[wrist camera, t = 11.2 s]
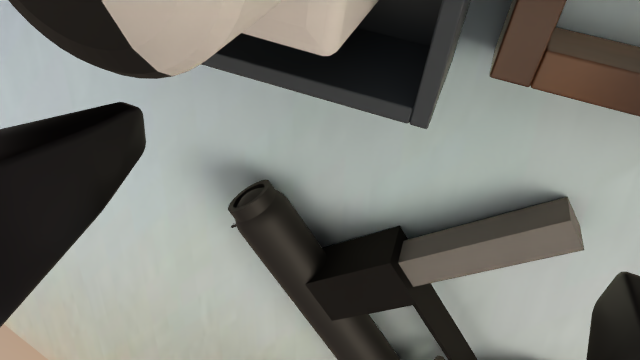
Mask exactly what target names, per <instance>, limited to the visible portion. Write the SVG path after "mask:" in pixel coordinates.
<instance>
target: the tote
mask: <svg viewBox="0 0 640 360" xmlns="http://www.w3.org/2000/svg"><path fill="white" fill-rule="evenodd" d="M470 1H471V0H379V1H378V2H377V3H376V4H375V6H374V7H373V8H372V9H371V11H370V12H369V13H368V14H367V15H366V17H365V18H364V19H363V20H362V22H361V23H360V24H359V25H358V26H357V28H356V29H355V30H354V31H353V32H352V34H351V35H350V36H349V37H348V39H347V40H346V41H345V42H344V43H343V45H342V46H341V47H340V48H339V50H338V51H337V52H336V53H334V54H332V55H330V56H321V55H317V54H314V53H310V52H307V51H303V50H300V49H296V48H293V47H289V46H285V45H282V44H278V43H275V42H271V41H268V40H264V39H261V38H257V37H254V36H250V35H247V34H243V33H241V34H239V35H238V36H237V37H235V38H234V39H233V40H232V41H230V42H229V43H228V44H226V45H225V46H224V47H223V48H221V49H220V50H219V51H218V52H216V53H215V54H214V55H212V56H211V57H210V58H209V59H207V60H206V61H205V62H203V63H202V65H206V66H209V67H213V68H216V69H220V70H223V71H227V72H230V73H234V74H237V75H240V76H244V77H247V78H251V79H254V80H258V81H261V82H265V83H268V84H272V85H275V86H279V87H282V88H286V89H289V90H292V91H296V92H299V93H303V94H306V95H310V96H313V97H317V98H320V99H324V100H327V101H331V102H334V103H338V104H341V105H345V106H348V107H351V108H355V109H358V110H362V111H365V112H369V113H372V114H376V115H379V116H383V117H386V118H390V119H393V120H397V121H400V122H404V123H409V122H410V124H411V125H414V126H417V127H421V128H424V129H427V128H428V126H429V123H430V120H431V118H432V115H433V112H434V109H435V106H436V104H437V101H438V98H439V95H440V93H441V90H442V87H443V84H444V82H445V79H446V76H447V73H448V70H449V68H450V65H451V62H452V59H453V56H454V53H455V50H456V46H457V43H458V40H459V37H460V33H461V30H462V27H463V23H464V20H465V17H466V14H467V10H468V7H469V4H470Z"/></svg>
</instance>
